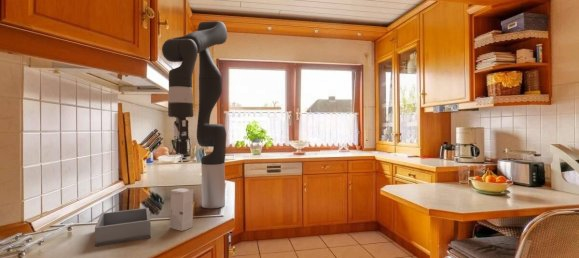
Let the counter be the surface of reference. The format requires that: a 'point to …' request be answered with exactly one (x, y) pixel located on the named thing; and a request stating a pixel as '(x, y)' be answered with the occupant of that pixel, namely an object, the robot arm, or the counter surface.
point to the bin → (122, 226)
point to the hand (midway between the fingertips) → (181, 153)
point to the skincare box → (181, 209)
